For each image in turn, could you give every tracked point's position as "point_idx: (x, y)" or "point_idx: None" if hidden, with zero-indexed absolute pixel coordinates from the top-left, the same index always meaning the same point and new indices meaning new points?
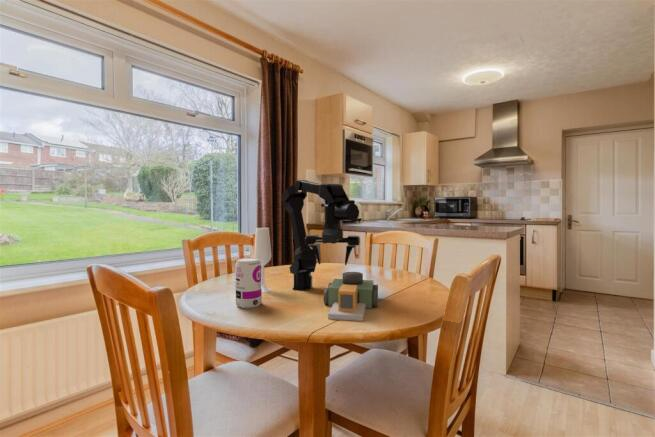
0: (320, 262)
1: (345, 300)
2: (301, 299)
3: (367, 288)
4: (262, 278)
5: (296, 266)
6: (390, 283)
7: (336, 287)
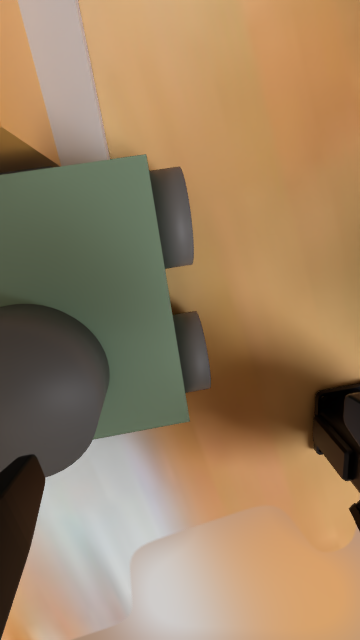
0: (356, 427)
1: None
2: (314, 248)
3: None
4: None
5: None
6: None
7: (87, 185)
